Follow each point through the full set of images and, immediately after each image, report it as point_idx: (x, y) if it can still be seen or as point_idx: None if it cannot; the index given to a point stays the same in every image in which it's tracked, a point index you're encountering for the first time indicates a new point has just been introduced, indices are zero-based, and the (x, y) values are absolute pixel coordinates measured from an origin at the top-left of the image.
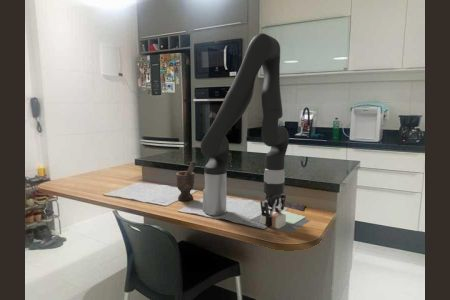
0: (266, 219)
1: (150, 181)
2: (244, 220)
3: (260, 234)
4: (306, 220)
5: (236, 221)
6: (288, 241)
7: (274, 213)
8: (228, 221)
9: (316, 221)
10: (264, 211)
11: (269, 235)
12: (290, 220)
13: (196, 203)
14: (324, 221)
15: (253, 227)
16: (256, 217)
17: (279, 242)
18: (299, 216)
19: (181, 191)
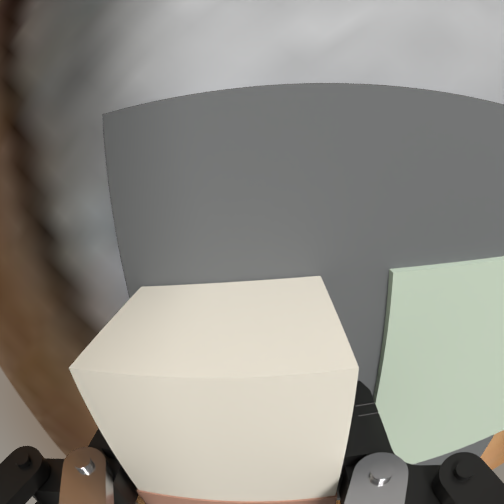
0: (102, 437)
1: None
2: (100, 59)
3: (44, 385)
4: (473, 452)
5: (35, 48)
6: (142, 500)
7: (256, 499)
8: (6, 24)
9: (491, 453)
10: (186, 384)
11: (88, 431)
12: (419, 435)
13: None
14: (499, 461)
15: (52, 273)
16: (254, 103)
17: None
18: None
19: None
